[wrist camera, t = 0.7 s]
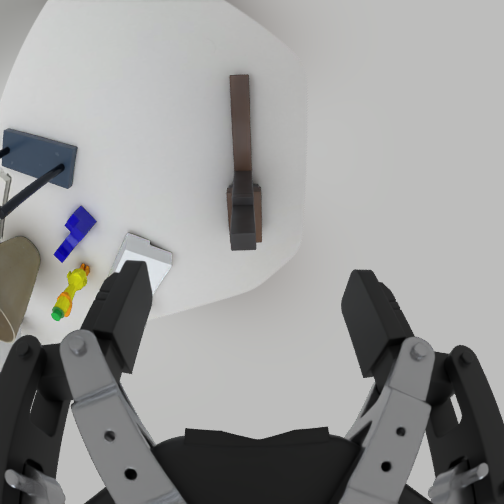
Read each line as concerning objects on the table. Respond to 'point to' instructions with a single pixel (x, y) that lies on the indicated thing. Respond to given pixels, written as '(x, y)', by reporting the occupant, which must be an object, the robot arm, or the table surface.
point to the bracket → (144, 258)
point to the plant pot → (16, 283)
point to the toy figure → (70, 292)
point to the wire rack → (36, 163)
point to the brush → (243, 173)
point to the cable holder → (75, 232)
